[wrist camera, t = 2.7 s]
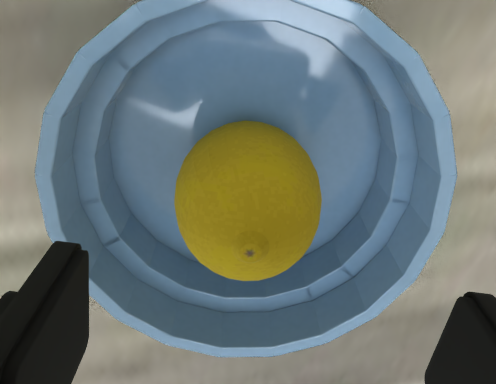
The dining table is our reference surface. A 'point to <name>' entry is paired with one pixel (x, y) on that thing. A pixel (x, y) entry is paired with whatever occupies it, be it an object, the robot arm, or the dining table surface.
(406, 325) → the dining table surface
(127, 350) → the dining table surface
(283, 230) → the lemon
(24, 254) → the dining table surface
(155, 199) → the bowl
